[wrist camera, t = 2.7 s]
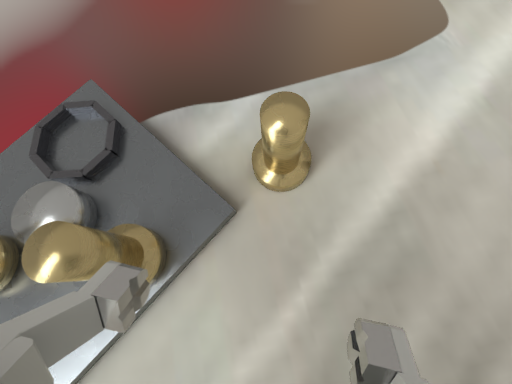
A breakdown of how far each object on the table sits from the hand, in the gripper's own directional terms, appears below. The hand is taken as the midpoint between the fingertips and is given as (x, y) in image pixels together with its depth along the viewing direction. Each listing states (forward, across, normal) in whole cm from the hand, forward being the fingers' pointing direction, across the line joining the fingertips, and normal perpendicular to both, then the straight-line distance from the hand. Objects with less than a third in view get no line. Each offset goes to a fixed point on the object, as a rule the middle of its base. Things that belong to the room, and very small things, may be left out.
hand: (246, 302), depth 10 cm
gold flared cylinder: (+20, 0, +3) cm, 20 cm away
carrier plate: (+13, +20, +10) cm, 26 cm away
